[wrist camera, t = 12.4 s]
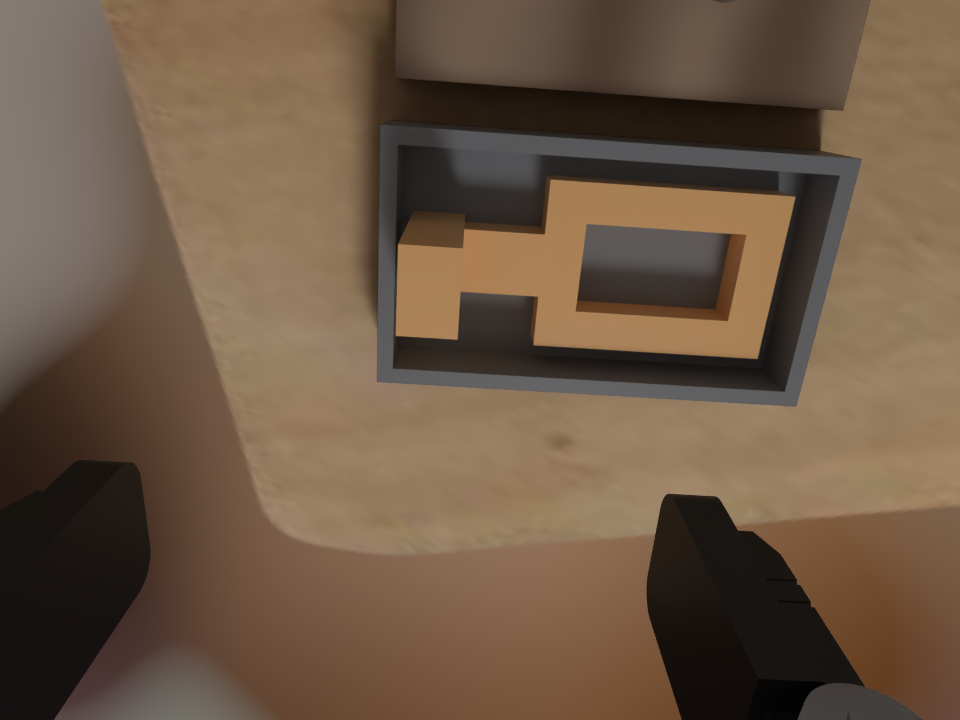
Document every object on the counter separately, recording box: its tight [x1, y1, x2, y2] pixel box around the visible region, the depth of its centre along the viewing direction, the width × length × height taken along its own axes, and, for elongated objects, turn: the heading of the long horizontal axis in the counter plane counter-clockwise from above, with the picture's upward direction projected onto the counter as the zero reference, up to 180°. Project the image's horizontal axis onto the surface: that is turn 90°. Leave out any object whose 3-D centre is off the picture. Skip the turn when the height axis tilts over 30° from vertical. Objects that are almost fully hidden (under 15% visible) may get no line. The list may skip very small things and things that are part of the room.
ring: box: [396, 175, 796, 359], centre depth 25 cm, size 14×6×6 cm, turn 86°
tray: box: [377, 120, 862, 406], centre depth 27 cm, size 17×10×3 cm, turn 86°
